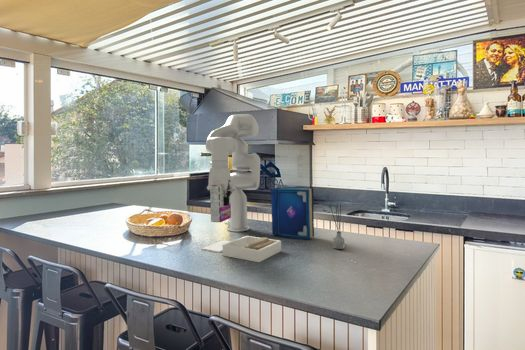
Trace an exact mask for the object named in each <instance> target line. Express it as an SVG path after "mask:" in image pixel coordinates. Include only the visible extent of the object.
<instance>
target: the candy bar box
mask: <svg viewBox="0 0 525 350" xmlns="http://www.w3.org/2000/svg"><path fill="white" fill-rule="evenodd" d="M224 197H225V196H224V192H223V191H222V185H210V192H209V199H210V223H222V222H224V221H225V222H226V221H228V220H230V218H231V203H230V196H229V205H227V206H224V199H223V198H224Z"/></svg>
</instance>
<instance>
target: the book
mask: <svg viewBox="0 0 525 350" xmlns="http://www.w3.org/2000/svg"><path fill="white" fill-rule="evenodd" d="M270 199H271V201H270V202H271V204H270V205H271V231H272V232H271V233H272V236H277V237H278V236H279V237H283V238H289V239H296V240H297V239H298V240H299V239H300V240H311V239H313V238H315V226H314V224H315V223H314V222H315V221H314V220H315V219H314V216H315V215H314V189H313V187H304V186H303V187H302V186H301V187H299V186H295V187H294V186H289V187H274V188H272V189H271V190H270Z"/></svg>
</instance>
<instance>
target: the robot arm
mask: <svg viewBox="0 0 525 350" xmlns="http://www.w3.org/2000/svg"><path fill="white" fill-rule="evenodd" d="M259 130H260V129H259V124H258V122H257V120H256V119H255V117H254V115H252V114H249V113H239V114H238V113H236V114H231V115H229V117H228V118H227V119H226V121H225V124H224V125H223V126H220V127H218V128H216V129H214V130H212V131H211V132H210V134H209V135H208V136H207V139H206V142H205V148H206V151H207V153H209V154H211V155H210V156H211V161H210V163H209V164H210V166H211V167H210V168H209V173H208V185H207V186H206V189H207V191H208V192H209V193H210V185H222V191H223V192H224V196H225V197H224V198H223V199H224V206H227V205H229V196H230V203H231V218H229V220H225V222H224V225H228V226H227V227H226V230H227V231H229V232H234V233H235V232H236V233H237V232H245V231H249V230H250V229H251V227H250V226H249V225H248V209H247V208H248V206H247V205H248V197H247V195H246V194H245V192H244V191H246V190H249V191H252V190H253V191H254V190H258V189H259V187H260V181H261V180H260V178H261V158H260V156H259V154H258V153H248V151H249V150H248V149H249V145H248V144H247V142H246V141H245V140H244V139H243V138H253V137H257V136H258V134H259ZM229 154H232V155H231V168H232V169H233V170H234V171H235V172H231V168H230V167H229ZM236 171H237V172H236ZM243 190H244V191H243Z"/></svg>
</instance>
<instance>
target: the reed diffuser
mask: <svg viewBox="0 0 525 350" xmlns="http://www.w3.org/2000/svg"><path fill="white" fill-rule="evenodd" d="M336 205H337V206H336V207H335V212H336V215H335V216H337V218H335V216H334V213H333V210H332V206H331V205H329V207H330V211H331V214H332V217H333V220H334V223H335V226H336V230H337V232H336V235H335V237H333V241H332V242H333V243H332V245H333V248H334V249H338V250H343V249H344V248H345V246H346V242H345V239H344V237H342V232H341V223H339V220H341V215H342V213H341V211H342V209H341V208H342V203H340V206H339V204H336ZM339 207H340V208H339ZM338 209H339V211H338Z"/></svg>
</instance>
